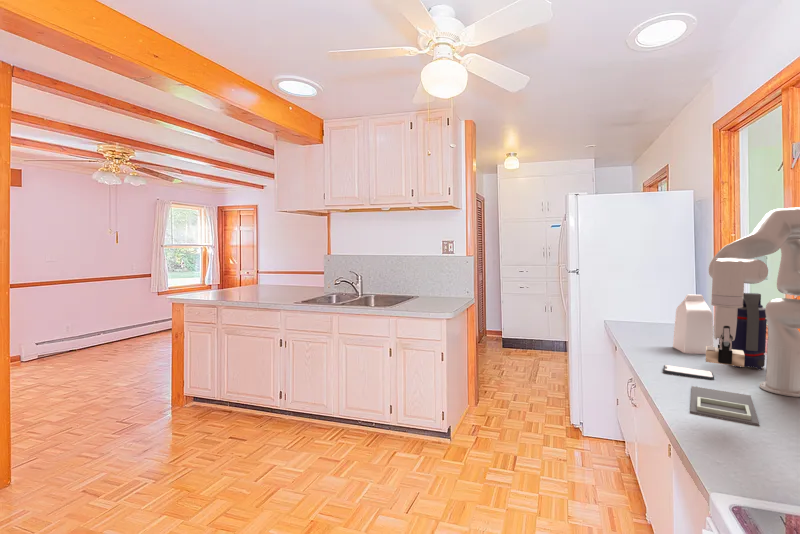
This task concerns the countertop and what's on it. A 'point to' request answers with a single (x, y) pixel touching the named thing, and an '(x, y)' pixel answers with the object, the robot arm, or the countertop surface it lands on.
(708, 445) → the countertop surface
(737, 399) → the mat
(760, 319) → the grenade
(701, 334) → the milk
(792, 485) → the countertop surface
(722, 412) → the tray
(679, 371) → the smartphone
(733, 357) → the block
